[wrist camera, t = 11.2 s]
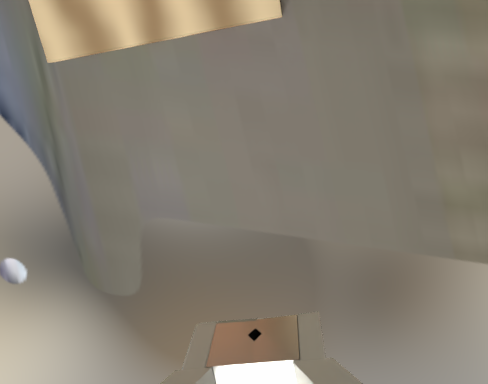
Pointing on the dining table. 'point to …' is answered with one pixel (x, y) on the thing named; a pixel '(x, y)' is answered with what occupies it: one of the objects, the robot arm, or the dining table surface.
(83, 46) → the oak board
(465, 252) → the dining table surface
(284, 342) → the robot arm
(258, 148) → the dining table surface
